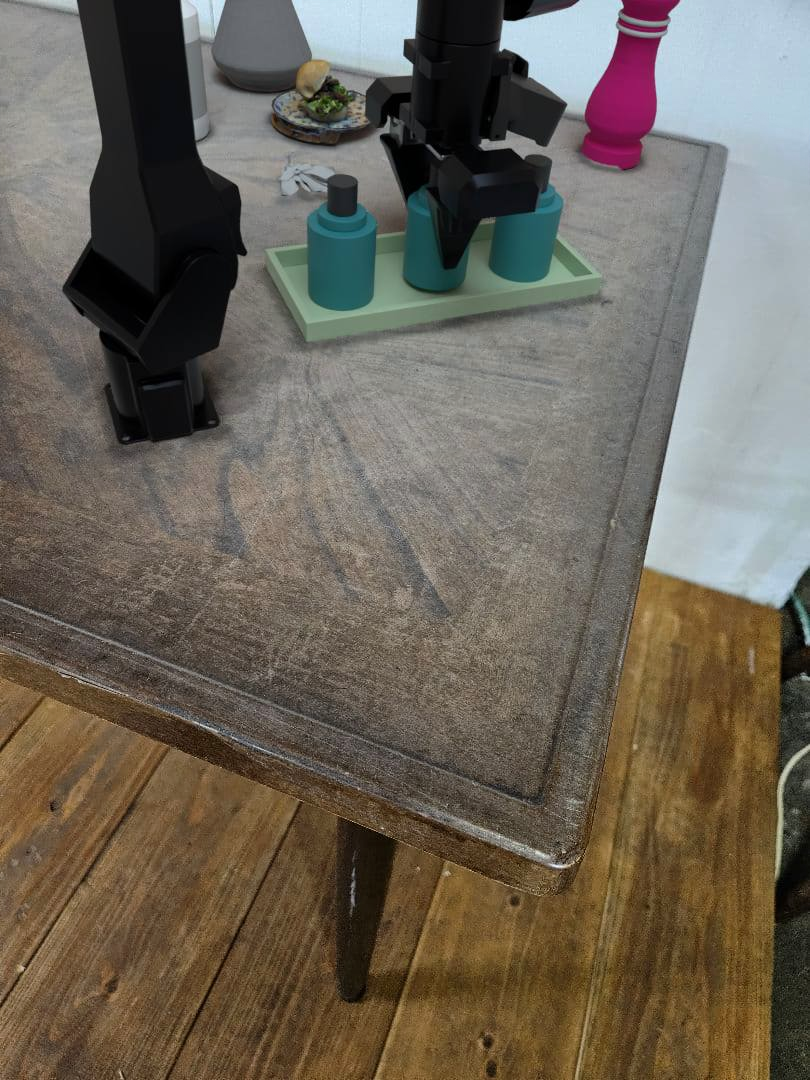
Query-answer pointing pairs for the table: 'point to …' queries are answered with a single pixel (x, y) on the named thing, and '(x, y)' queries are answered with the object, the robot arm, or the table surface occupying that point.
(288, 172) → the flower
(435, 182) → the bottle loose
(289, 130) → the plate of food
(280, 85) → the coffee pot
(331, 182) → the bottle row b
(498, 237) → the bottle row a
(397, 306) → the tray
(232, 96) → the table surface
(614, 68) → the pepper mill
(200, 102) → the spray bottle
